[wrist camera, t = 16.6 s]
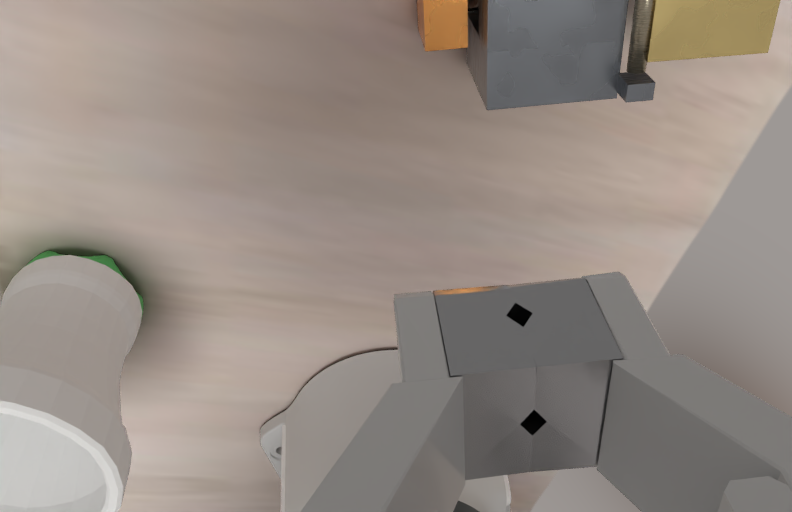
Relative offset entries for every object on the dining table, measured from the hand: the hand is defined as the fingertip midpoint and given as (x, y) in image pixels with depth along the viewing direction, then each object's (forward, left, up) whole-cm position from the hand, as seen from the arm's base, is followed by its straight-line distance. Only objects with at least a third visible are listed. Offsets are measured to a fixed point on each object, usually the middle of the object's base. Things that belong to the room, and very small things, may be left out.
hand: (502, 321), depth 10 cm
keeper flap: (-3, -13, -23) cm, 26 cm away
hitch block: (-3, -7, -29) cm, 30 cm away
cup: (-20, +20, -29) cm, 41 cm away
